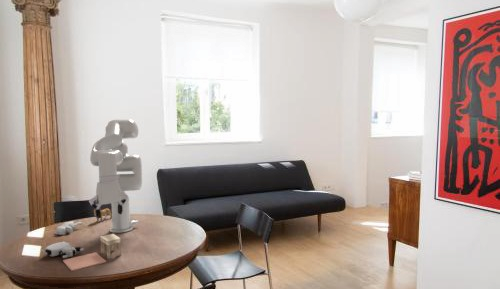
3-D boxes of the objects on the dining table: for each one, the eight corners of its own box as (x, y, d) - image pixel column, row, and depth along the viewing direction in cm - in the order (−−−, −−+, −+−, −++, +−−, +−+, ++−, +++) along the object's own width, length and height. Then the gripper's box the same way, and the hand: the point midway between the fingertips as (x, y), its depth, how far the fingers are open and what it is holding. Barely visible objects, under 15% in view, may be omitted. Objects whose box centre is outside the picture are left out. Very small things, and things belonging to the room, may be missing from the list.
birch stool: (113, 250, 175) (113, 233, 174) (121, 255, 168) (120, 238, 168) (101, 253, 171) (100, 236, 170) (107, 258, 164) (107, 241, 164)
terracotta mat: (95, 253, 171) (95, 252, 171) (106, 262, 160) (106, 261, 160) (62, 261, 162) (62, 260, 162) (71, 271, 151) (71, 269, 151)
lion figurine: (99, 223, 219) (98, 209, 218) (91, 223, 221) (91, 208, 220) (114, 217, 233) (114, 203, 233) (107, 216, 235) (107, 203, 234)
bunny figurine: (49, 228, 198) (68, 217, 212) (51, 237, 199) (69, 226, 213) (65, 229, 196) (83, 218, 210) (66, 238, 197) (84, 226, 211)
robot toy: (85, 254, 172) (62, 248, 178) (85, 245, 172) (62, 239, 177) (63, 264, 161) (39, 257, 166) (63, 254, 160) (39, 247, 166)
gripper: (123, 175, 175) (124, 210, 177) (85, 180, 164) (87, 217, 165) (129, 177, 170) (131, 213, 171) (90, 182, 159) (92, 220, 160)
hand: (109, 215), depth 168 cm, fingers open, 9 cm apart
